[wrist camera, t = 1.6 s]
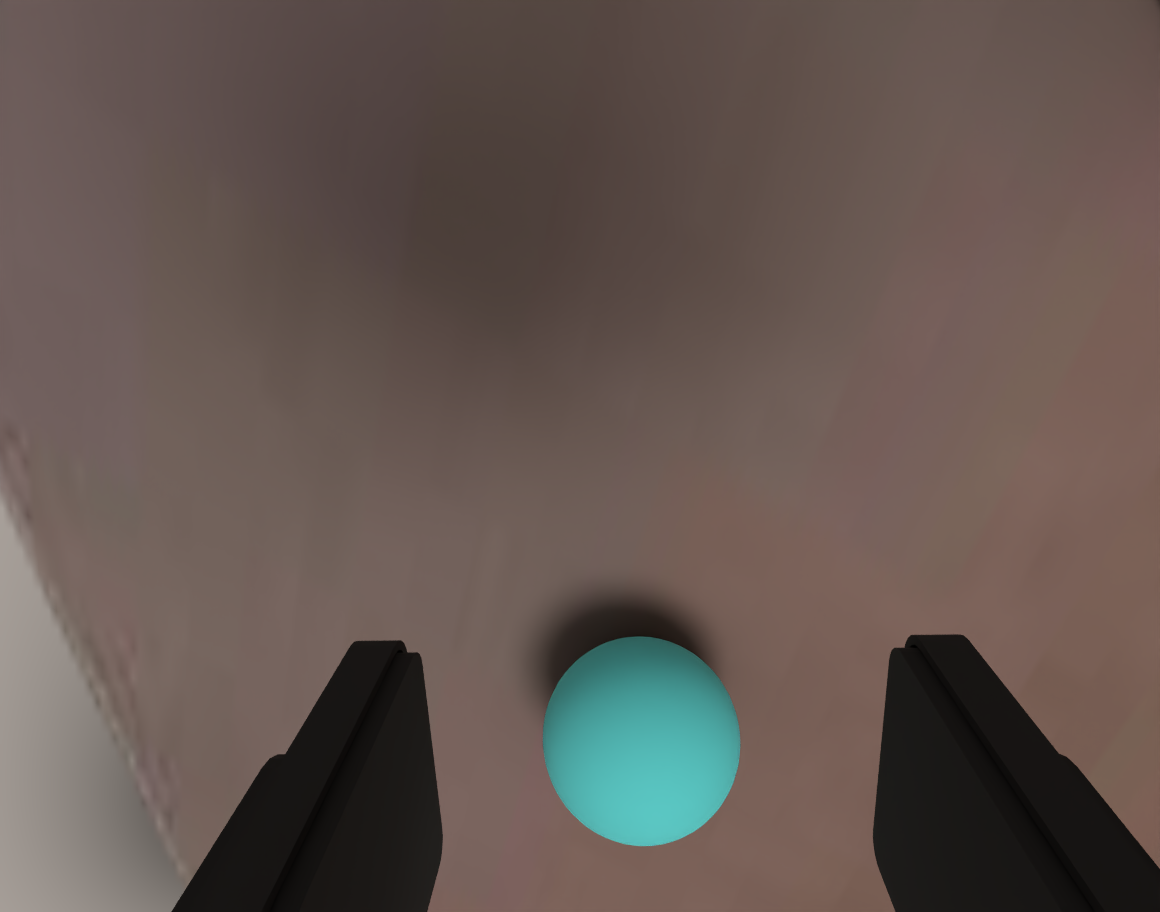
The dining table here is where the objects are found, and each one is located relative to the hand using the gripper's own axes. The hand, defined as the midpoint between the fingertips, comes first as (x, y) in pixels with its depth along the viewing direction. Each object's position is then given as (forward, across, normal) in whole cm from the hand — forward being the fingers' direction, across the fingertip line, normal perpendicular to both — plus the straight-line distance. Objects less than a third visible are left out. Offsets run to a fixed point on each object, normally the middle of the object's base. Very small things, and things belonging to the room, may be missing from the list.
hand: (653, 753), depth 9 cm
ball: (+12, 0, +10) cm, 16 cm away
